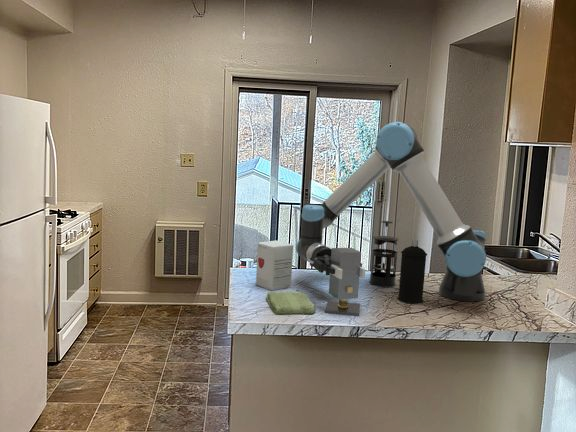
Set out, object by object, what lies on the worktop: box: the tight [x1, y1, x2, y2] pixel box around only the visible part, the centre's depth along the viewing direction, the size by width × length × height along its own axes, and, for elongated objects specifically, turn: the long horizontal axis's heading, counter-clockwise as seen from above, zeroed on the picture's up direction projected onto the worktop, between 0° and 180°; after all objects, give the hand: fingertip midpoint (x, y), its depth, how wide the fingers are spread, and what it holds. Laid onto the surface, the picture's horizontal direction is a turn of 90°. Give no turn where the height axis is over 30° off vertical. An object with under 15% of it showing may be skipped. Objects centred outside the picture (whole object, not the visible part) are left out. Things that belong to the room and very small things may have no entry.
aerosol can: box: [397, 239, 428, 305], centre depth 175 cm, size 8×8×20 cm
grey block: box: [328, 247, 362, 300], centre depth 162 cm, size 9×7×14 cm
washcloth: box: [265, 291, 316, 315], centre depth 164 cm, size 13×18×3 cm
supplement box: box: [255, 240, 294, 292], centre depth 185 cm, size 9×9×15 cm
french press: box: [368, 220, 399, 288], centre depth 195 cm, size 12×9×23 cm
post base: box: [324, 299, 361, 317], centre depth 163 cm, size 10×10×6 cm
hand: (352, 274), depth 157 cm, fingers closed on grey block, 7 cm apart
